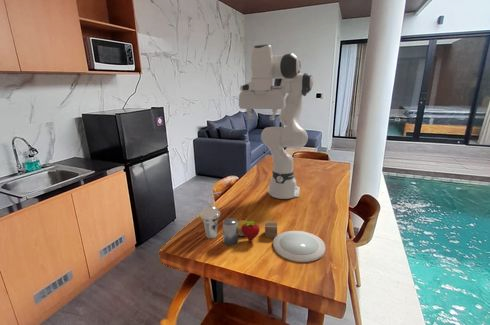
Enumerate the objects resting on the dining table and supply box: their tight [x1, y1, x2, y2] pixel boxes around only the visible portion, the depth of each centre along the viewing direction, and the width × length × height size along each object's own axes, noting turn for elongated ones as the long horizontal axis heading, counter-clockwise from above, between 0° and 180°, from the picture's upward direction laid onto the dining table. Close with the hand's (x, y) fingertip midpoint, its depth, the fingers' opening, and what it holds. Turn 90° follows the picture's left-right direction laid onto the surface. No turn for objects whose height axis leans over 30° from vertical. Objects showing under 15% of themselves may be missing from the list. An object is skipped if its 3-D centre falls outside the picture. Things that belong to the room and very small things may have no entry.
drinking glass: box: [222, 217, 239, 247], centre depth 106 cm, size 6×6×9 cm
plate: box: [272, 230, 326, 263], centre depth 103 cm, size 20×20×1 cm
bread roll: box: [237, 220, 249, 237], centre depth 114 cm, size 8×9×4 cm
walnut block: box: [264, 220, 278, 239], centre depth 111 cm, size 5×5×5 cm
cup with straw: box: [199, 190, 223, 239], centre depth 109 cm, size 8×9×20 cm
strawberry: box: [241, 219, 261, 242], centre depth 106 cm, size 6×8×10 cm
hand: (261, 119), depth 112 cm, fingers open, 8 cm apart
